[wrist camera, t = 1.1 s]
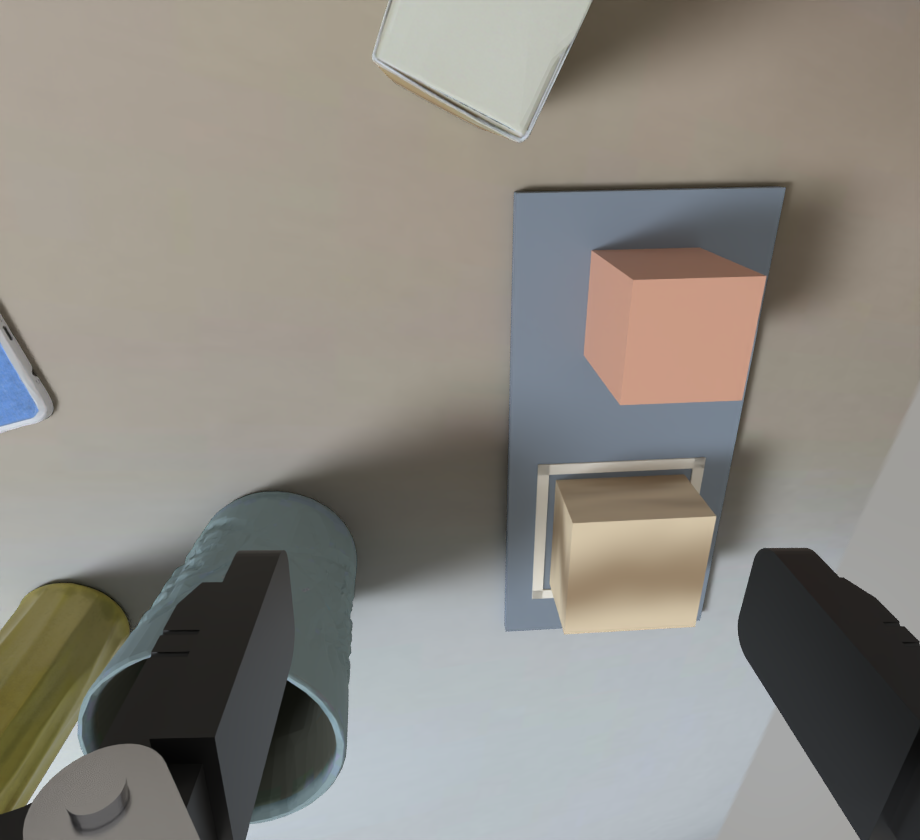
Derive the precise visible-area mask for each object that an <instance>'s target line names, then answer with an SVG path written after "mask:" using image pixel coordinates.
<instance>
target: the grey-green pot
mask: <svg viewBox="0 0 920 840" xmlns="http://www.w3.org/2000/svg"><path fill="white" fill-rule="evenodd" d="M239 550H285V551H286V553H287V556H288V562H289V572H290V582H291V592H292V602H293V612H294V623H295V640H294V651H293V657H292V662H291V666H290V670H289V674H288V678H287V682H286V686H285V690H284V693H283V697H282V701H281V705H280V709H279V713H278V716H277V720H276V724H275V728H274V732H273V736H272V740H271V743H270V747H269V751H268V755H267V759H266V763H265V766H264V770H263V774H262V778H261V782H260V786H259V790H258V793H257V797H256V801H255V805H254V809H253V813H252V816H251V820H250V824H255V823H262V822H267V821H272V820H275V819H278V818H281V817H284V816H287V815H289V814H291V813H294V812H296V811H298V810H300V809H303V808H304V807H306V806H308V805H309V804H311V803H312V802H314V801H315V800H316V799H317V798H319V797H320V796H321V795H322V794H323V793H325V792H326V791H327V790H328V789H329V788H330V786H331V785H332V784H333V783H334V781H335V780H336V778H337V776H338V775H339V773H340V771H341V769H342V767H343V764H344V761H345V758H346V749H347V727H348V684H349V678H350V661H349V655H350V654H351V646H350V645H351V641H352V633H351V631H352V621H351V619H350V614H351V611H352V607H353V604H352V601H353V599H354V588H355V577H356V569H357V554H356V548H355V544H354V541H353V538H352V536H351V534H350V532H349V530H348V528H347V527H346V525H345V524H344V523H343V521H342V520H341V519H340V518H339V517H338V516H337V515H336V514H335V513H334V512H333V511H331V510H330V509H329V508H327V507H326V506H324V505H322V504H321V503H319V502H317V501H315V500H313V499H311V498H308V497H305V496H302V495H298V494H294V493H289V492H281V491H273V492H259V493H254V494H250V495H247V496H244V497H242V498H240V499H237V500H235V501H233V502H232V503H230V504H228V505H227V506H226V507H224V508H223V509H222V510H220V511H219V512H218V513H217V514H216V515H215V516H214V517H213V518H212V519H211V521H210V522H209V524H208V525H207V526H206V528H205V529H204V531H203V532H202V534H201V536H200V537H199V538H198V539H197V541H196V543H195V544H194V546H193V548H192V550H191V551H190V552H189V554H188V555H187V556H186V561H185V564H184V565H182V566H180V567H178V568H177V569H176V570H175V571H174V573H173V575H172V577H171V578H170V579H169V580H168V581H167V583H166V584H165V585H164V587H163V589H162V591H161V593H160V594H159V595H158V597H157V599H156V600H155V602H154V603H153V605H152V607H151V609H150V610H148V611H147V612H146V613H145V614H144V615H143V617H142V618H141V620H140V622H139V624H138V626H137V627H136V628H135V630H133V631H132V632H131V634H130V635H129V637H128V638H127V639H126V641H125V642H124V644H123V645H122V646H121V647H120V649H119V650H118V651H117V653H116V654H115V655H114V657H113V658H112V659H111V661H110V662H109V663H108V665H107V666H106V667H105V669H104V670H103V671H102V673H101V674H100V675H99V677H98V678H97V679H96V681H95V682H94V683H93V685H92V686H91V687H90V689H89V690H88V692H87V694H86V696H85V697H84V699H83V702H82V705H81V708H80V712H79V717H78V739H79V743H80V747H81V750H82V752H83V754H84V755H86V754H89V753H91V752H93V751H96V750H97V749H98V748H99V746H100V745H101V743H102V741H103V739H104V737H105V736H106V734H107V732H108V730H109V728H110V726H111V725H112V723H113V721H114V719H115V717H116V715H117V714H118V712H119V710H120V708H121V706H122V704H123V703H124V701H125V699H126V697H127V695H128V693H129V692H130V690H131V688H132V686H133V684H134V682H135V680H136V679H137V677H138V675H139V673H140V671H141V669H142V668H143V666H144V664H145V662H146V660H147V658H150V657H151V651H152V649H153V647H154V646H155V644H156V642H157V640H158V638H159V636H160V635H163V629H164V627H165V625H166V624H167V622H168V620H169V618H170V616H171V614H172V613H173V611H174V609H175V607H176V605H177V604H178V603H179V602H180V601H181V600H183V599H184V598H185V597H186V596H187V595H188V594H189V593H191V592H192V591H193V590H194V589H195V588H196V587H197V586H199V585H200V584H201V583H202V582H223V579H224V577H225V575H226V573H227V571H228V569H229V567H230V565H231V562H232V560H233V558H234V556H235V554H236V553H237V552H238V551H239Z"/></svg>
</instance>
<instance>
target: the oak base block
mask: <svg viewBox="0 0 920 840" xmlns="http://www.w3.org/2000/svg"><path fill="white" fill-rule="evenodd" d="M715 521H716V515H715V514H714V512H713V511H712V510H711V509H710V507H709V506H708V505H707V503H706V502H705V501H704V499H703V498H702V497H701V496H700V494H699V493H698V492H697V490H696V489H695V488H694V486H693V485H692V484H691V483H690V481H689V480H688V479H687V477H686V476H685V475H684V474H679V475H657V476H635V477H613V478H591V479H568V480H556V485H555V502H554V518H553V535H552V551H551V568H550V587H551V590H552V594H553V597H554V601H555V604H556V607H557V611H558V614H559V618H560V621H561V625H562V628H563V632H564V634H579V633H596V632H613V631H630V630H647V629H665V628H682V627H695V624H696V619H697V613H698V608H699V603H700V598H701V593H702V588H703V583H704V578H705V572H706V567H707V562H708V557H709V552H710V547H711V542H712V536H713V531H714V526H715Z"/></svg>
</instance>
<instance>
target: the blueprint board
mask: <svg viewBox="0 0 920 840" xmlns="http://www.w3.org/2000/svg"><path fill="white" fill-rule="evenodd" d="M785 189H786V188H785V187H779V186H774V187H727V188H680V189H633V190H587V191H540V192H514V213H513V260H512V306H511V352H510V398H509V444H508V490H507V536H506V583H505V629H506V631H524V630H541V629H559V628H562V625H561V621H560V618H559V614H558V611H557V607H556V604H555V601H554V597H553V594H552V590H551V587H550V568H551V551H552V535H553V518H554V502H555V485H556V480H568V479H591V478H613V477H635V476H657V475H679V474H684V475H685V476H686V477H687V479H688V480H689V481H690V483H691V484H692V485H693V486H694V488H695V489H696V490H697V492H698V493H699V494H700V496H701V497H702V498H703V499H704V501H705V502H706V503H707V505H708V506H709V507H710V509H711V510H712V511H713V512H714V514H715V515H716V521H715V526H714V531H713V536H712V542H711V547H710V552H709V557H708V562H707V567H706V572H705V578H704V583H703V588H702V593H701V598H700V603H699V608H698V613H697V619H696V621H698V620H700V618H701V613H702V608H703V603H704V597H705V592H706V587H707V582H708V577H709V572H710V567H711V562H712V557H713V552H714V547H715V542H716V537H717V532H718V527H719V522H720V517H721V512H722V507H723V502H724V497H725V492H726V487H727V481H728V476H729V471H730V466H731V461H732V456H733V451H734V446H735V441H736V436H737V431H738V426H739V421H740V416H741V411H742V406H743V401H744V396H745V391H746V386H747V381H748V376H749V371H750V365H751V360H752V355H753V350H754V345H755V340H756V335H757V330H758V325H759V320H760V315H761V310H762V305H763V300H764V295H765V290H766V285H767V280H768V275H769V270H770V265H771V260H772V254H773V249H774V244H775V239H776V234H777V229H778V224H779V219H780V214H781V209H782V204H783V199H784V194H785ZM699 247H700V248H702V249H704V250H707V251H709V252H711V253H714V254H716V255H718V256H721V257H723V258H725V259H728V260H730V261H732V262H735V263H737V264H739V265H742V266H744V267H746V268H749V269H751V270H753V271H756V272H758V273H760V274H763V275H765V276H767V277H766V282H765V287H764V292H763V297H762V302H761V307H760V312H759V317H758V322H757V327H756V332H755V338H754V343H753V348H752V353H751V358H750V363H749V368H748V373H747V378H746V383H745V388H744V393H743V398H742V400H740V401H714V402H689V403H664V404H638V405H620V404H619V403H618V402H617V400H616V399H615V398H614V396H613V395H612V393H611V392H610V391H609V389H608V388H607V387H606V385H605V384H604V382H603V381H602V380H601V378H600V377H599V376H598V374H597V373H596V372H595V370H594V369H593V367H592V366H591V365H590V363H589V362H588V361H587V359H586V358H585V356H584V343H585V330H586V317H587V303H588V290H589V277H590V263H591V250H623V249H661V248H699Z"/></svg>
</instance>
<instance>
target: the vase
mask: <svg viewBox="0 0 920 840" xmlns="http://www.w3.org/2000/svg"><path fill="white" fill-rule="evenodd" d="M129 635H130V627H129V622H128V620H127V617H126V615H125V613H124V612H123V610H122V609H121V607H120V606H119V605H118V604H117V603H116V602H115V601H113V600H112V599H111V598H110V597H108V596H107V595H105V594H104V593H102V592H100V591H98V590H95V589H93V588H90V587H86V586H83V585H79V584H74V583H54V584H48V585H45V586H41V587H39V588H37V589H35V590H33V591H31V592H30V593H28V594H27V595H26V596H25V597H24V598H23V599H22V601H21V603H20V605H19V607H18V608H17V610H16V611H15V613H14V614H13V615H12V616H11V618H10V619H9V620H8V621H7V623H6V624H5V625H4V627H3V628H2V629H1V631H0V814H3V813H6V812H10V811H12V810H15V809H18V808H21V807H24V806H26V805H27V803H28V801H29V800H30V798H31V796H32V795H33V793H34V791H35V790H36V788H37V787H38V785H39V783H40V782H41V780H42V778H43V777H44V775H45V773H46V772H47V770H48V769H49V767H50V765H51V764H52V762H53V761H54V759H55V757H56V756H57V754H58V752H59V751H60V749H61V747H62V746H63V744H64V742H65V741H66V739H67V738H68V736H69V734H70V732H71V731H72V729H73V727H74V726H75V724H76V722H77V721H78V717H79V712H80V708H81V705H82V702H83V699H84V697H85V696H86V694H87V692H88V690H89V689H90V687H91V686H92V685H93V683H94V682H95V681H96V679H97V678H98V677H99V675H100V674H101V673H102V671H103V670H104V669H105V667H106V666H107V665H108V663H109V662H110V661H111V659H112V658H113V657H114V655H115V654H116V653H117V651H118V650H119V649H120V647H121V646H122V645H123V644H124V642H125V641H126V639H127V638H128V637H129Z"/></svg>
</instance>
